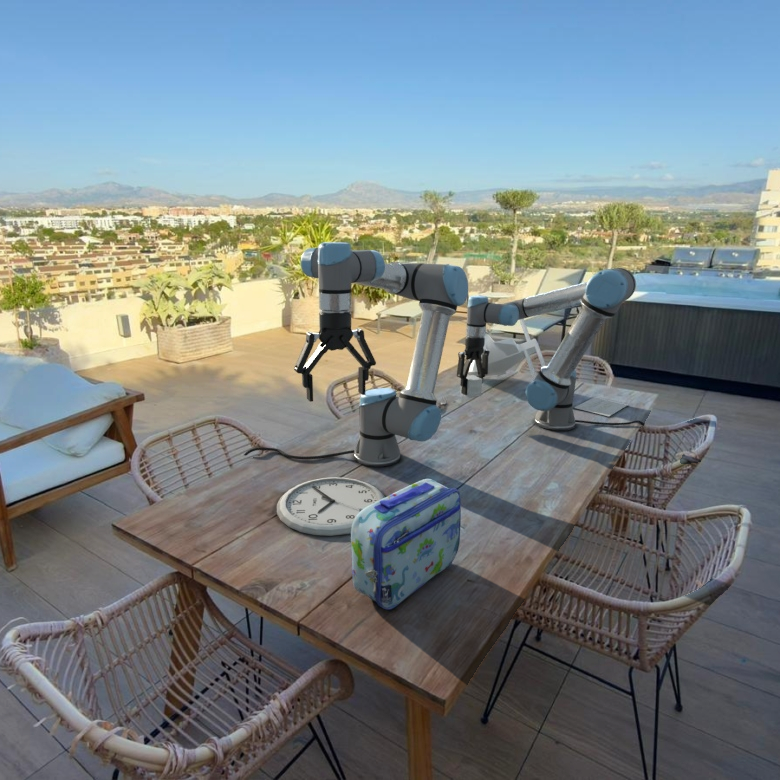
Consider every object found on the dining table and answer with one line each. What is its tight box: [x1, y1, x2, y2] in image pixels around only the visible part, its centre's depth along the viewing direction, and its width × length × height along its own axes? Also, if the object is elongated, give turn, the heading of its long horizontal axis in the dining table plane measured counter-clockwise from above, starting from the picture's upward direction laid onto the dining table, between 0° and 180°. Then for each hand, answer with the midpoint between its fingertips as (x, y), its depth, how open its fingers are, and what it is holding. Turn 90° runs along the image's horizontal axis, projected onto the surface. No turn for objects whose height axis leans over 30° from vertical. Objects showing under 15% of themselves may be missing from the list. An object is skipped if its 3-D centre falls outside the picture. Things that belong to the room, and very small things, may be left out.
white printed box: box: [460, 375, 483, 399], centre depth 208 cm, size 6×6×7 cm
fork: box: [437, 396, 448, 409], centre depth 222 cm, size 3×16×2 cm, turn 160°
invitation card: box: [573, 396, 629, 418], centre depth 226 cm, size 21×1×15 cm
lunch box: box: [350, 478, 462, 611], centre depth 110 cm, size 26×11×21 cm, turn 135°
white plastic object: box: [467, 318, 547, 381], centre depth 258 cm, size 37×45×31 cm
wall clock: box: [276, 476, 386, 537], centre depth 142 cm, size 30×2×30 cm
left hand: (336, 396), depth 129 cm, fingers open, 13 cm apart
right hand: (470, 392), depth 209 cm, fingers closed on white printed box, 6 cm apart
